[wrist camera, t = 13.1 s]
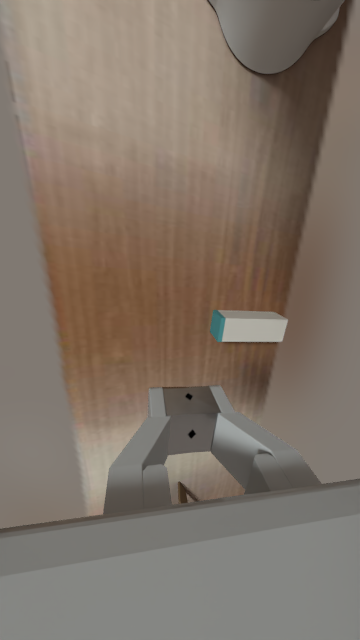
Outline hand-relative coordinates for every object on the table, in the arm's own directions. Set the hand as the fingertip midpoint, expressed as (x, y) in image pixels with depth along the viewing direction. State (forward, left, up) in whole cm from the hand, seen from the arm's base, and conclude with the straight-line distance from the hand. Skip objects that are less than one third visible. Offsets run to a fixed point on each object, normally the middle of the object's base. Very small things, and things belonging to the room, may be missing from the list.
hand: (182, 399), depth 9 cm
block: (+8, +12, -29) cm, 32 cm away
